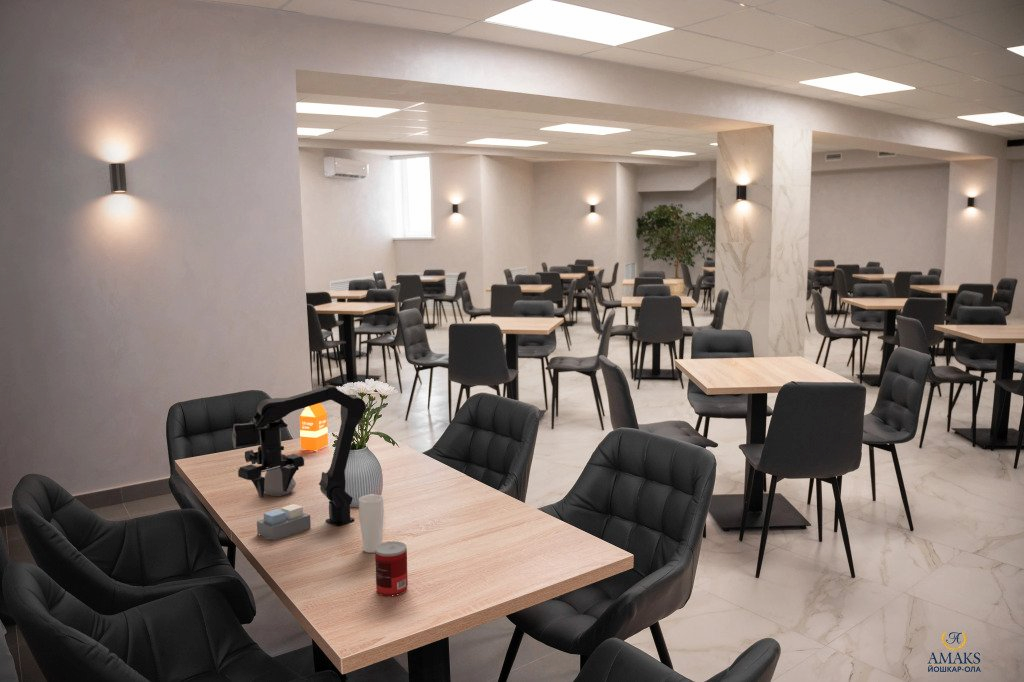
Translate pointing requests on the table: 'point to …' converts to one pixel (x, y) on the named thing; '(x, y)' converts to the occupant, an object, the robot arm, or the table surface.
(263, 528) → the key block
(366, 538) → the drinking glass
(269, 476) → the coffee pot
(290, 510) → the cream key
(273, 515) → the blue key
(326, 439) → the orange juice
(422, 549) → the table surface
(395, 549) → the canned food
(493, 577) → the table surface
